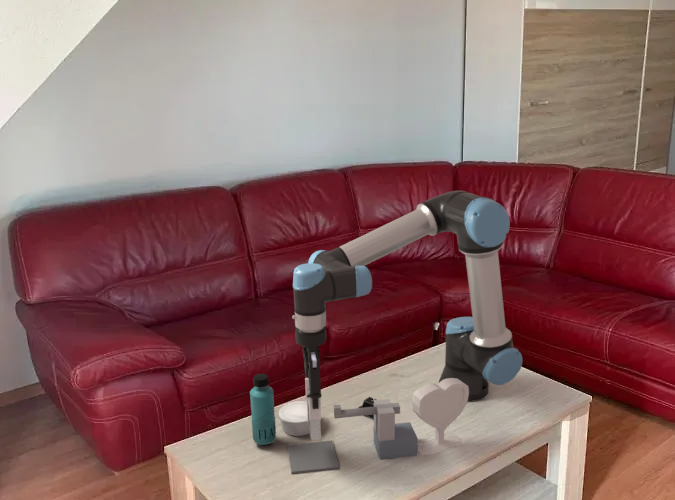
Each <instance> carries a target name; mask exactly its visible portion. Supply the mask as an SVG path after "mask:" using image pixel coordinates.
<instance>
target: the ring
mask: <svg viewBox="0 0 675 500" xmlns="http://www.w3.org/2000/svg"><path fill="white" fill-rule="evenodd" d="M309 394H310V389H306V388H305V396H306V395H309ZM307 423H308V428H309V433H310V434H309V439H310V441H313V440H321V439H322V433H321V431H322V430H321V419H312V420H310V410H309V398H307Z"/></svg>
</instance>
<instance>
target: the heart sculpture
mask: <svg viewBox="0 0 675 500" xmlns="http://www.w3.org/2000/svg"><path fill="white" fill-rule="evenodd" d="M468 396H469V388H468V386H467V385H466V384H464V383H463V382H462V381H460V380H459V379H457V378H447V379H443V380H442V381H441V382H440V383H439V382H438V383H437V384H436V383H434V382H429V383H427V384H424V385H422V386H420V387H419V388H417V389H415V391H414V392H413V393H412V399H411V405H412V410H413V412H414V413H415V414H416V416H417V417H418V418H419V419H420V420H422V422H424V423H425V424H427V425H429V427H432V428H435V429H434V431H435V434H434V435H435V437H434V438H435V439H432V440H429V441H426V442H423V443H420V444H418V453H420V454H422V455H425V456H429V455H431V454H435V453H438V452H441V451H443V450H447V449H450V448H452V447H456V446H459V445H461V444H463V443H464V442H463V440H462V438H461V437H460V436H458V435H455V434H452V433H450V434H448V435H445V430H447V428H449V426H450V425H451V424H453V422H454V421H456V420H457V418H458V417H459V416H460V415H461V413H462V412H463V411H464V410H465V407H466V405H467V403H468V402H469V401H468Z"/></svg>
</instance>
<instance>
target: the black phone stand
mask: <svg viewBox="0 0 675 500" xmlns="http://www.w3.org/2000/svg"><path fill="white" fill-rule="evenodd" d="M374 400H378V399H377V398H373V397H371V396H367V398H366V399H364V400H363V402H362V405H360V406H359V407H358V408H365V407H374ZM364 417H365V418H367V419H371V420H372V421H374V415H365V416H364Z"/></svg>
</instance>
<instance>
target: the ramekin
mask: <svg viewBox="0 0 675 500" xmlns="http://www.w3.org/2000/svg"><path fill="white" fill-rule="evenodd" d="M278 418H279V420H280V423H281V428H282V430H283V431H284V432H285V433H286V434H288V435H290V436H293V437H304V436H307V435H310V433H309V428H308V423H307V402H306V400H305V401H303V400H302V401H301V400H299V401H297V400H296V401H292V402H289V403H285V405H282V406H281V407H280V409H279V411H278Z"/></svg>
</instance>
